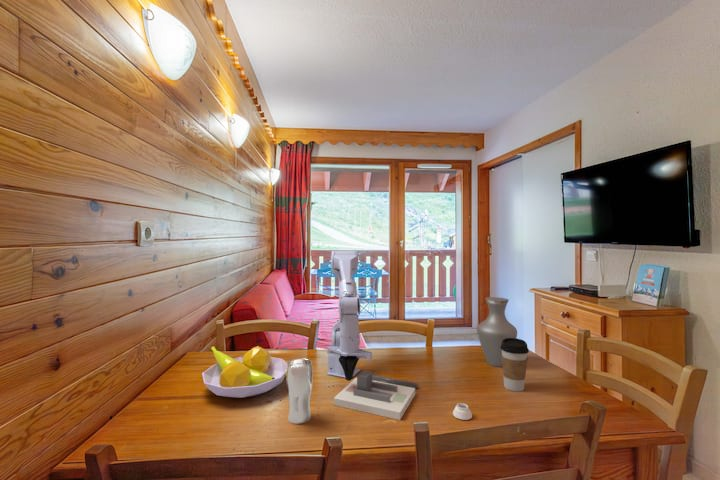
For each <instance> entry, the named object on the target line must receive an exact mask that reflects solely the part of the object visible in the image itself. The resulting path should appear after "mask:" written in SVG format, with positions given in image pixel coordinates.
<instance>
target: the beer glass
mask: <svg viewBox="0 0 720 480" xmlns="http://www.w3.org/2000/svg"><path fill="white" fill-rule="evenodd" d="M286 363H287V373H286V377H285V378H286V389H287V396H288V401H289V410H288V411H289V412H288V417H287V420H288V422H290V423H291V424H294V425H302V424H305V423H307V422H309V421H310V420H311V418H312V415H311V414H312V413H311V407H310V404H311V403H310V402H311V396H312V395H311V394H312V391H313V380H314V377H313V376H314V375H313V374H314V373H313V372H314V371H313V362H312V360H311V359H309V358H303V357H302V358H294V359H291V360H289V361H288V362H286Z"/></svg>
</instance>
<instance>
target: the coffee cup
mask: <svg viewBox="0 0 720 480" xmlns="http://www.w3.org/2000/svg"><path fill="white" fill-rule="evenodd" d="M500 348H501V349H502V355H501V356H502V373H503V374H502V375H503V376H502V377H503V385H504V388H505V389H506V390H508V391H513V392H523V391H524V390H525V382H526V373H527V367H528V353H529V352H530V350H529V348H528V344H527V342H526V341H525V340H524V339H520V338H505V339H503V340H502V345H501V347H500Z"/></svg>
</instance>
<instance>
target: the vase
mask: <svg viewBox="0 0 720 480" xmlns="http://www.w3.org/2000/svg"><path fill="white" fill-rule="evenodd" d="M484 300H485V301H486V304H487V307H488V315H487V317H486V319H484V320H483V321H481V322H480V323H479V324H478V325H477V326H476V332H477V333H476V334H477V336H478V339H479V342H480V347H481V350H482V352H483V355H484V357H485V359H486V363H487V364H488V365H489V366H493V367H499V368H503V366H502V356H501V355H502V349H501V348H500V347H501V345H502V340H503V339H505V338H517V337H518V329H517V328H516V327H515V326H514V325H513V323H511V322H510V321H508V319H507V317H506V314H505V313H506V308H507V305H508V302H509V299H508V298H504V297H499V296H498V297H496V296H495V297H491V296H490V297H489V296H488V297H485V299H484ZM517 339H518V338H517Z"/></svg>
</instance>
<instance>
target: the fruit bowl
mask: <svg viewBox="0 0 720 480" xmlns="http://www.w3.org/2000/svg"><path fill="white" fill-rule="evenodd" d="M210 349H211V350H212V352H213V356H214V358H215V360H216V363H215V364H213V365H212V366H210V367H209V368H208V369H206V370H205V371H203V372H202V373H201V375H202V379H203V384H204V385H205V386H206V388H207V389H208V390H209V391H210V392H212V393H213V394H215V395H216V396H220V397H224V398H225V397H226V398H241V399H242V398H247V397H253V396H254V397H255V396H260V395H262V394H264V393H267V392H268V391H270V390H272V389H274V388H275V387H277V386H278V385H281V384H282V382H283V381H284V379H285V378H286V377H285V376H287V363H288V362H286V361H285V360H284V359H283V358H279V357H273V356H271V355H270V352H269V350H267V349H265V348H263V347H261V346H259V345H257V346H254V347H252V348H251V349H250V350H248V351H247V352H245V353H244V354H243V356H238V357H236V358H235V357H232V356H229V355H228V354H226V353H224V352H222V351H220V350H217V349H216V347H215V346H214V345H213V346H212V347H210Z"/></svg>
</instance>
